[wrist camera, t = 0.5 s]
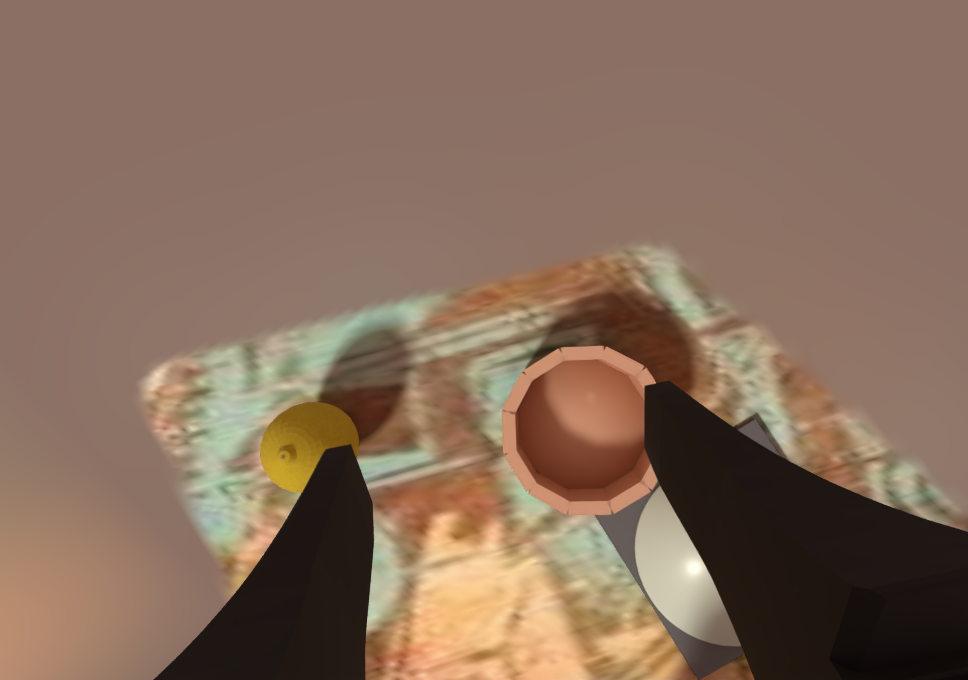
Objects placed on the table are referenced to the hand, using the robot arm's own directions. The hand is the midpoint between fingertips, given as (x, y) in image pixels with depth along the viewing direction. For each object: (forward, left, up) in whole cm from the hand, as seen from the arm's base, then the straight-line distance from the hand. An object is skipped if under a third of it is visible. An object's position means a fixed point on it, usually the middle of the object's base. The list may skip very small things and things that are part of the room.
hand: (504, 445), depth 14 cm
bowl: (-4, -2, -25) cm, 25 cm away
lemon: (+4, +13, -25) cm, 29 cm away
